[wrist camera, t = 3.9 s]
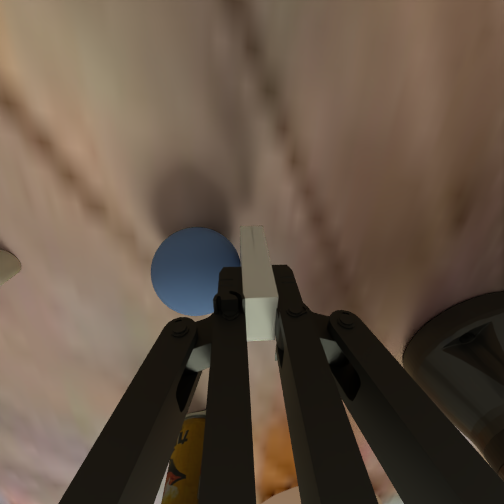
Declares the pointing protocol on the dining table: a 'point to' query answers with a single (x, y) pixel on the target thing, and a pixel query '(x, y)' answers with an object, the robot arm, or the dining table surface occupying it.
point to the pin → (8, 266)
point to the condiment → (186, 462)
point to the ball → (191, 269)
